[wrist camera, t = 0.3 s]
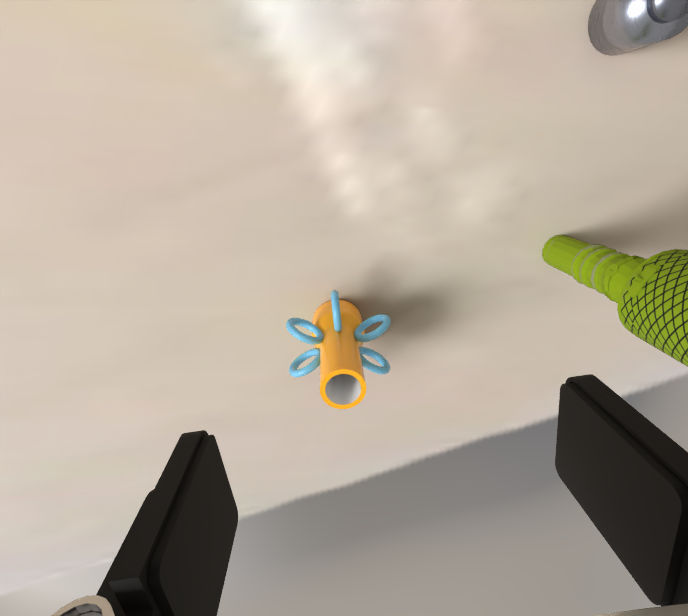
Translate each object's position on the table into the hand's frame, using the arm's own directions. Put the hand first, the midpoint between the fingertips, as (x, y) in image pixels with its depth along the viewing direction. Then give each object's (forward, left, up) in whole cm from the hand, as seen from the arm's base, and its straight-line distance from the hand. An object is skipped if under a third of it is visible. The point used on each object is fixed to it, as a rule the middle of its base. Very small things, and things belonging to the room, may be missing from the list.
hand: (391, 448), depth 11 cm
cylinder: (+9, -8, -37) cm, 39 cm away
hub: (+3, +33, -36) cm, 49 cm away
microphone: (+19, +17, -37) cm, 45 cm away
